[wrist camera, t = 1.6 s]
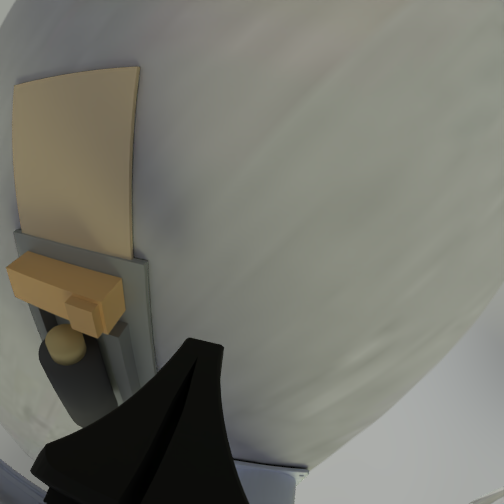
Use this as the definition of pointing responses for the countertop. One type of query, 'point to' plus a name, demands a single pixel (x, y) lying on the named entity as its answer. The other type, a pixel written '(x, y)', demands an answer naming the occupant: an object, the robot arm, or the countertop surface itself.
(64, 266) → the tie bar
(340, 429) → the countertop surface
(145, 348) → the board
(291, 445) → the countertop surface
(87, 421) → the dark grey cylinder
